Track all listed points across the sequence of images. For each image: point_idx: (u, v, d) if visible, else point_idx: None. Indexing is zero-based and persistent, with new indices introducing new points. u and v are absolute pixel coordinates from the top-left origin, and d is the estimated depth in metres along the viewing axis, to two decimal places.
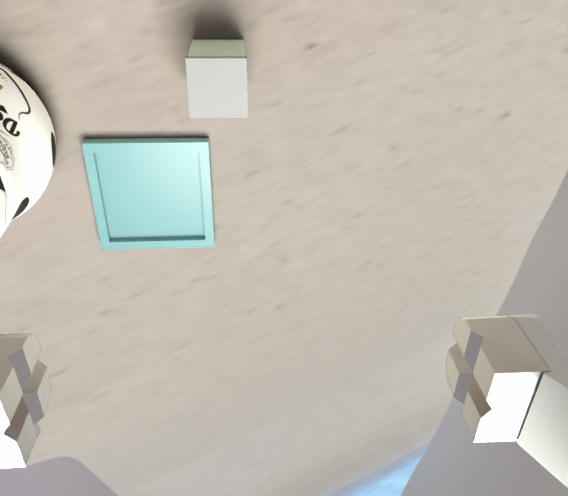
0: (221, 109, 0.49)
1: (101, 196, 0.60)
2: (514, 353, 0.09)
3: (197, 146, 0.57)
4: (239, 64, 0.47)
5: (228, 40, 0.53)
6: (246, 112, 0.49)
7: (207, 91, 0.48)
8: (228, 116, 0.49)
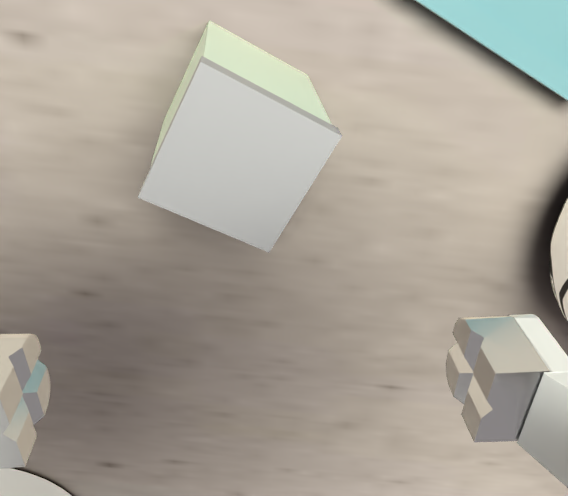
0: (255, 117, 0.18)
1: None
2: (514, 353, 0.09)
3: None
4: (160, 193, 0.19)
5: None
6: (198, 74, 0.17)
7: (266, 170, 0.19)
8: (249, 91, 0.17)
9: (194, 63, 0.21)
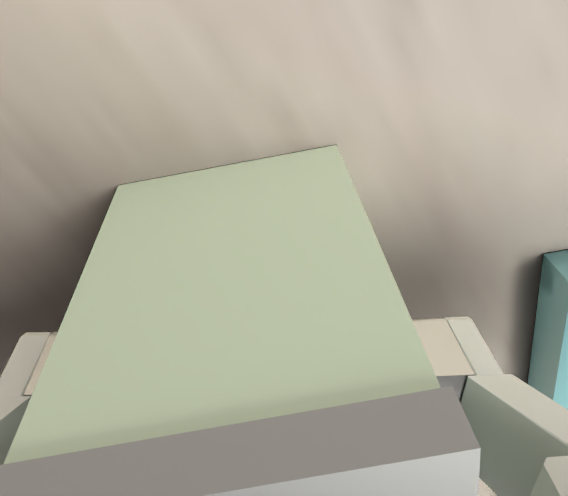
0: None
1: None
2: (441, 356, 0.09)
3: None
4: None
5: None
6: (433, 450, 0.05)
7: None
8: None
9: (305, 236, 0.09)
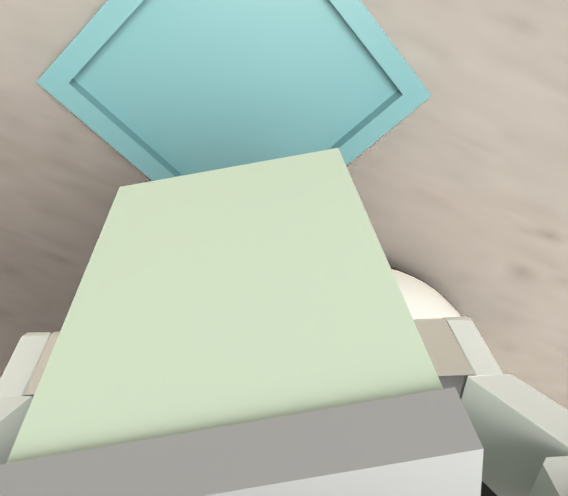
0: None
1: None
2: (441, 356, 0.09)
3: (63, 93, 0.25)
4: None
5: None
6: (437, 451, 0.05)
7: None
8: None
9: (307, 238, 0.09)
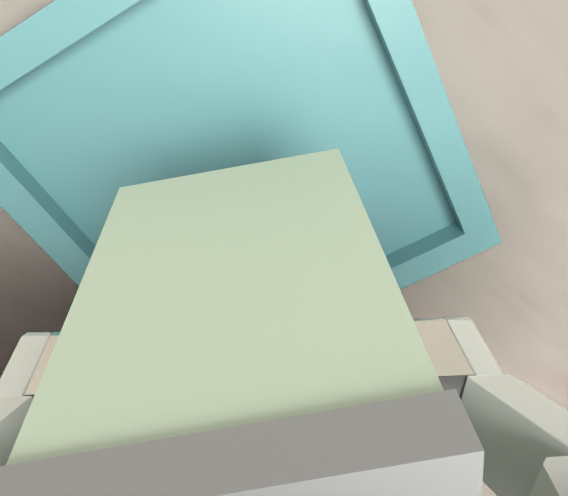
0: None
1: None
2: (441, 356, 0.09)
3: None
4: None
5: None
6: (437, 452, 0.05)
7: None
8: None
9: (307, 239, 0.09)
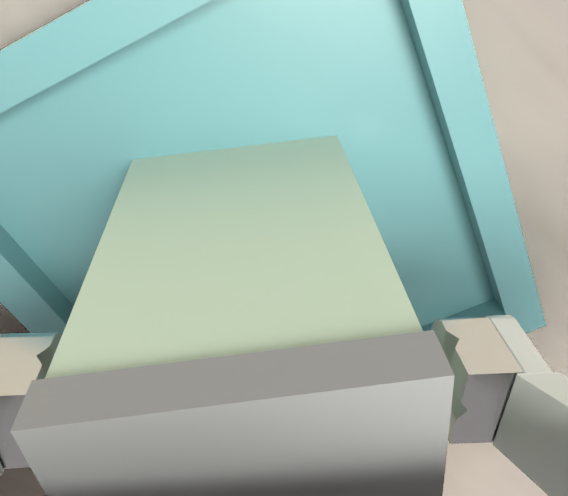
0: None
1: None
2: (488, 354, 0.09)
3: None
4: (70, 459, 0.07)
5: None
6: (415, 377, 0.06)
7: None
8: (436, 468, 0.07)
9: (308, 210, 0.10)
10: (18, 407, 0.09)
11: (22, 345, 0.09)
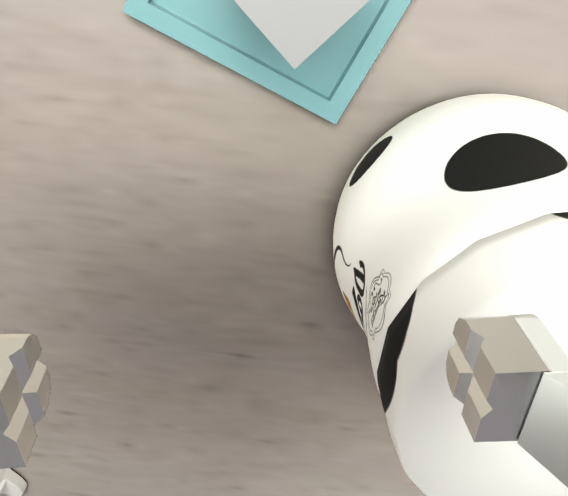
0: None
1: (380, 14, 0.29)
2: (514, 353, 0.09)
3: (146, 14, 0.28)
4: None
5: None
6: None
7: None
8: None
9: None
10: None
11: None
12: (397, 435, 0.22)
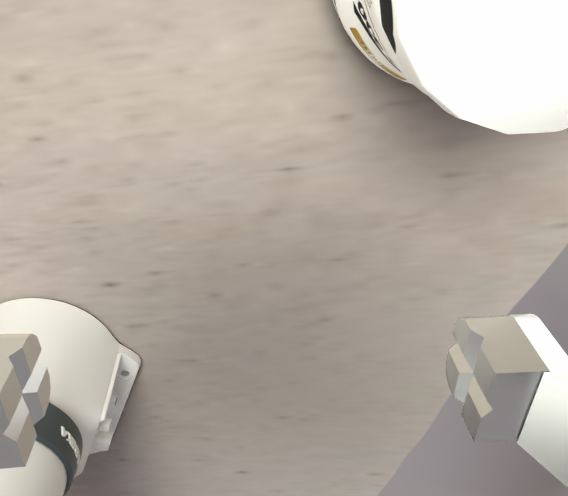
0: None
1: None
2: (514, 353, 0.09)
3: None
4: None
5: None
6: None
7: None
8: None
9: None
10: None
11: None
12: (404, 38, 0.24)
